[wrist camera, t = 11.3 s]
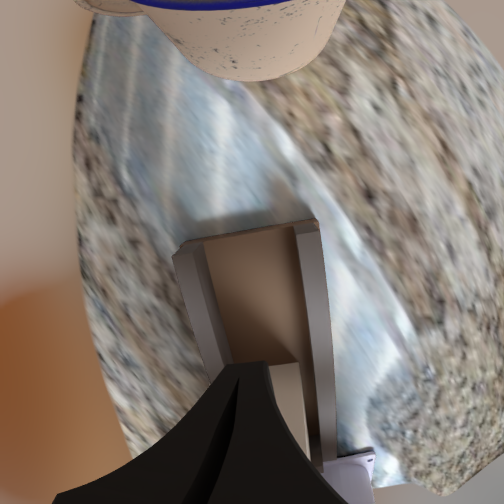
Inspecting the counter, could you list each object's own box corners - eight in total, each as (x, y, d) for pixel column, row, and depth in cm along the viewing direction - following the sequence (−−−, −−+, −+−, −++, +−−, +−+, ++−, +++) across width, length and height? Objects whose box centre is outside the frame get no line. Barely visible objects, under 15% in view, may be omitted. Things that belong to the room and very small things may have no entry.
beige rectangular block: (298, 362, 16) (307, 458, 10) (308, 434, 18) (314, 516, 12) (247, 368, 17) (234, 463, 10) (266, 439, 19) (262, 519, 12)
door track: (335, 429, 19) (342, 469, 15) (244, 440, 20) (239, 479, 16) (315, 218, 15) (329, 235, 11) (184, 241, 16) (158, 264, 12)
